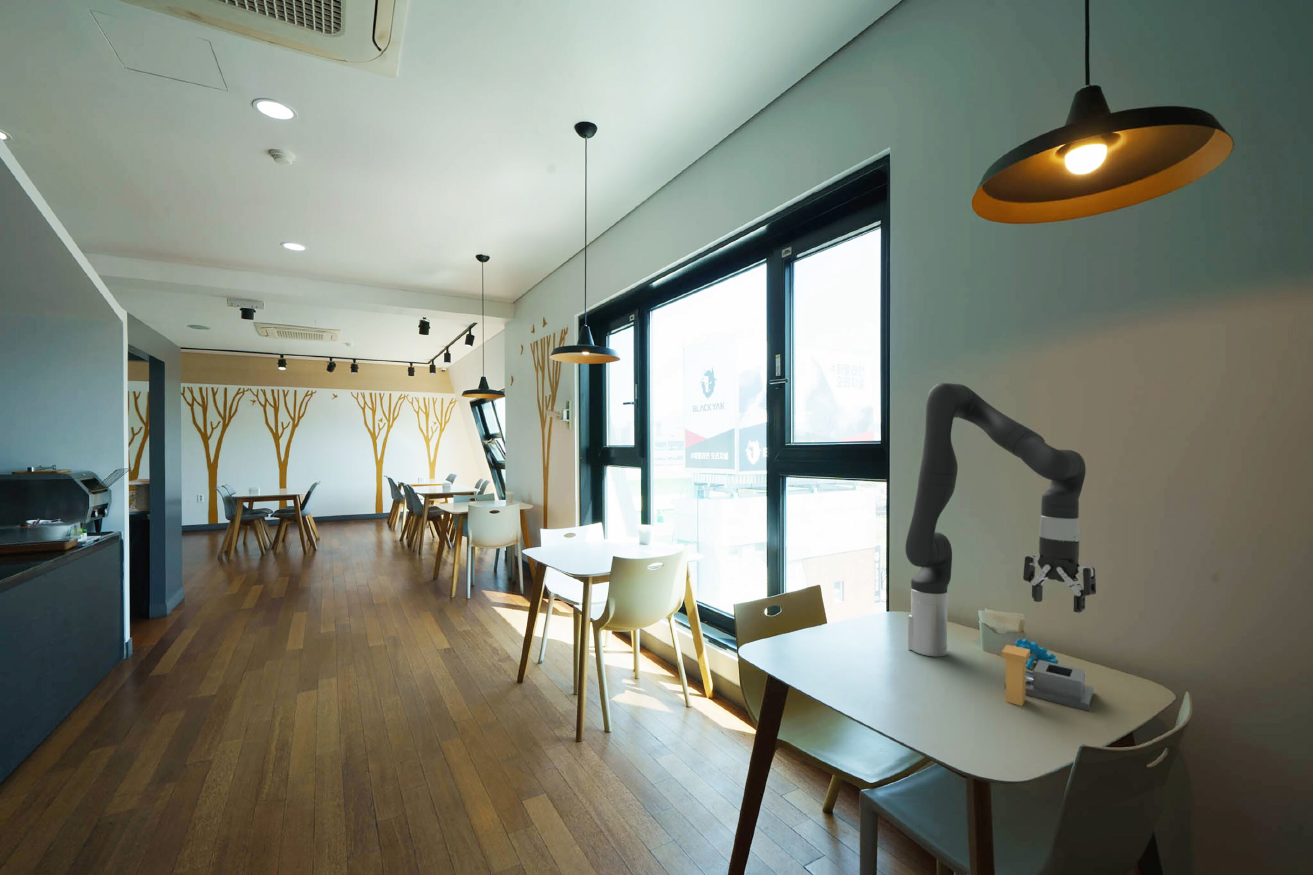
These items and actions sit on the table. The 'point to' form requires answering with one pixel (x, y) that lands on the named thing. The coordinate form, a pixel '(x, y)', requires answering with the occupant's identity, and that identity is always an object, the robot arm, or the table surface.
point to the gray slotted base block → (1059, 685)
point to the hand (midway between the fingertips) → (1057, 606)
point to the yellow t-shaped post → (1015, 673)
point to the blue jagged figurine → (1035, 652)
